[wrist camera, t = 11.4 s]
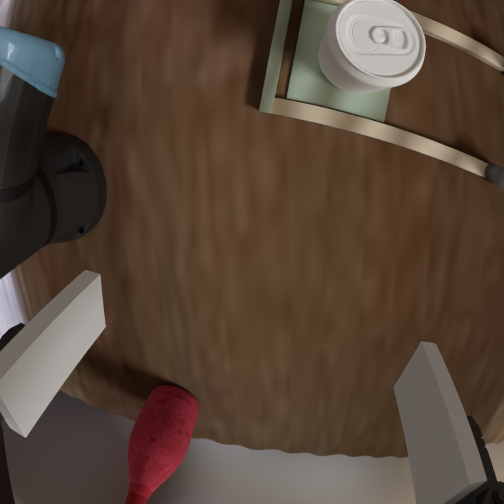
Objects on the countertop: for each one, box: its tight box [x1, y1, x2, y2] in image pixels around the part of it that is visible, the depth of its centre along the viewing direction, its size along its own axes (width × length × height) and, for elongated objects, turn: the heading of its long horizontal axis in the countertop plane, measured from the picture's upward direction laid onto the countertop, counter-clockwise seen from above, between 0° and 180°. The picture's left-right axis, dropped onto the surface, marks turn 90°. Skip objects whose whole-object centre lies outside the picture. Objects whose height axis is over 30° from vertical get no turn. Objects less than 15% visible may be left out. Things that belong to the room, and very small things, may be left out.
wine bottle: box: [125, 385, 199, 504], centre depth 41 cm, size 10×10×30 cm
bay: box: [259, 0, 504, 189], centre depth 26 cm, size 30×17×5 cm, turn 81°
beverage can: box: [318, 0, 426, 94], centre depth 23 cm, size 8×8×12 cm
